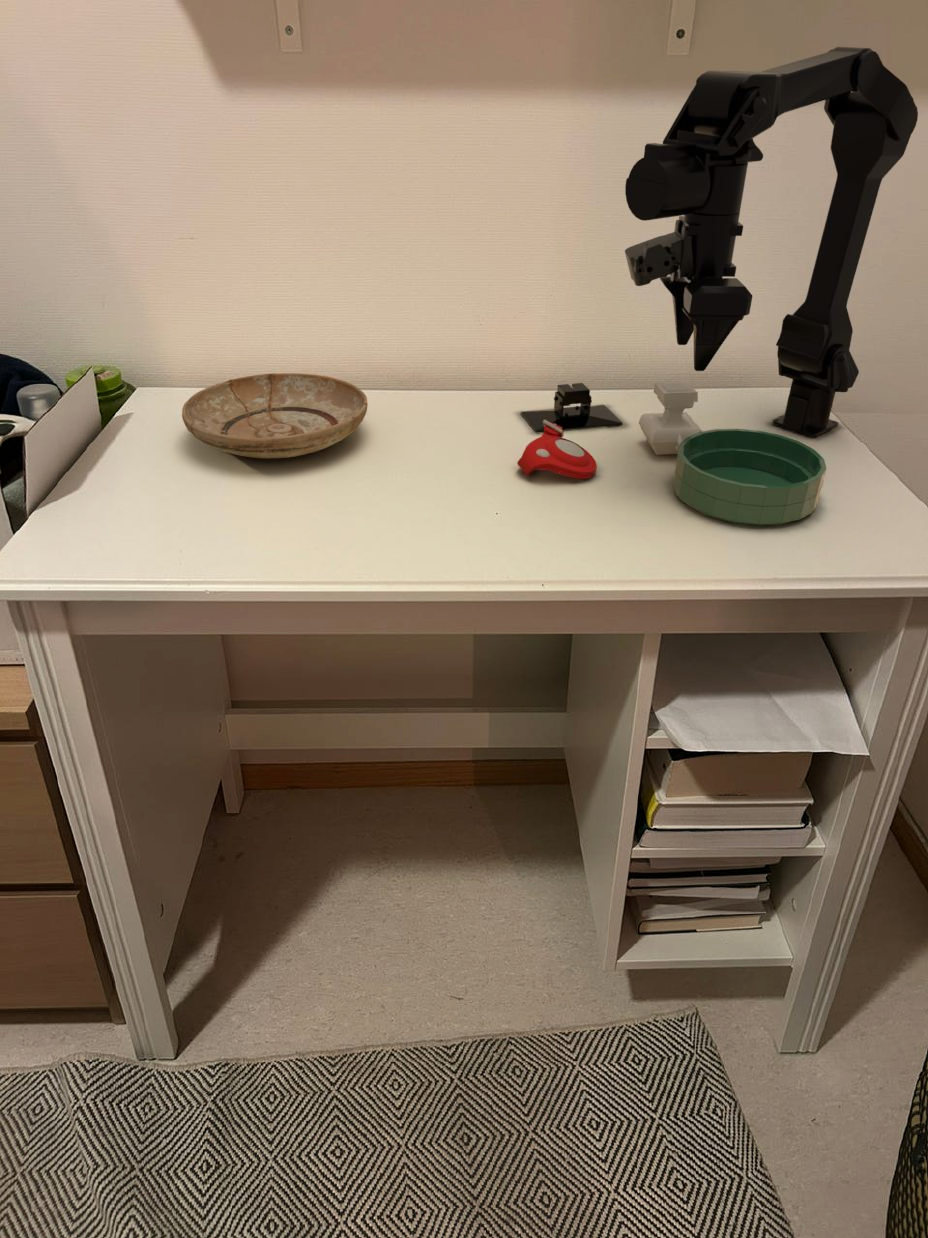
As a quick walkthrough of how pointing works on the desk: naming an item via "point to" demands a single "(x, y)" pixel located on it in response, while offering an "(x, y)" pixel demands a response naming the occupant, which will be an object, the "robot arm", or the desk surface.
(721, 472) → the green bowl
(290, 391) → the ceramic bowl
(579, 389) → the build plate
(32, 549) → the desk surface
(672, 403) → the stamp
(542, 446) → the tracker holder
